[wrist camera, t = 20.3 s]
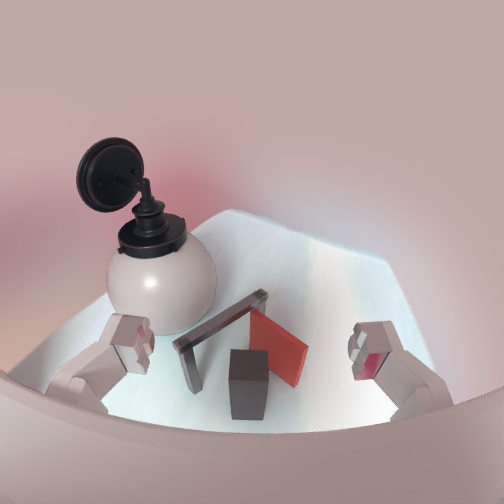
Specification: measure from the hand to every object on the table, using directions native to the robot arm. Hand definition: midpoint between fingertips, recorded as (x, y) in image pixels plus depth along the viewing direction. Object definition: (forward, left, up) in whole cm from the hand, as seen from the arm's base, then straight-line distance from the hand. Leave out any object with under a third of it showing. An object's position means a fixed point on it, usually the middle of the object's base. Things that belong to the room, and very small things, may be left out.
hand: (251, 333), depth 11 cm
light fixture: (-31, +19, -32) cm, 48 cm away
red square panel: (-6, +19, -31) cm, 37 cm away
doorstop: (-6, +10, -32) cm, 34 cm away
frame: (-13, +15, -32) cm, 38 cm away
